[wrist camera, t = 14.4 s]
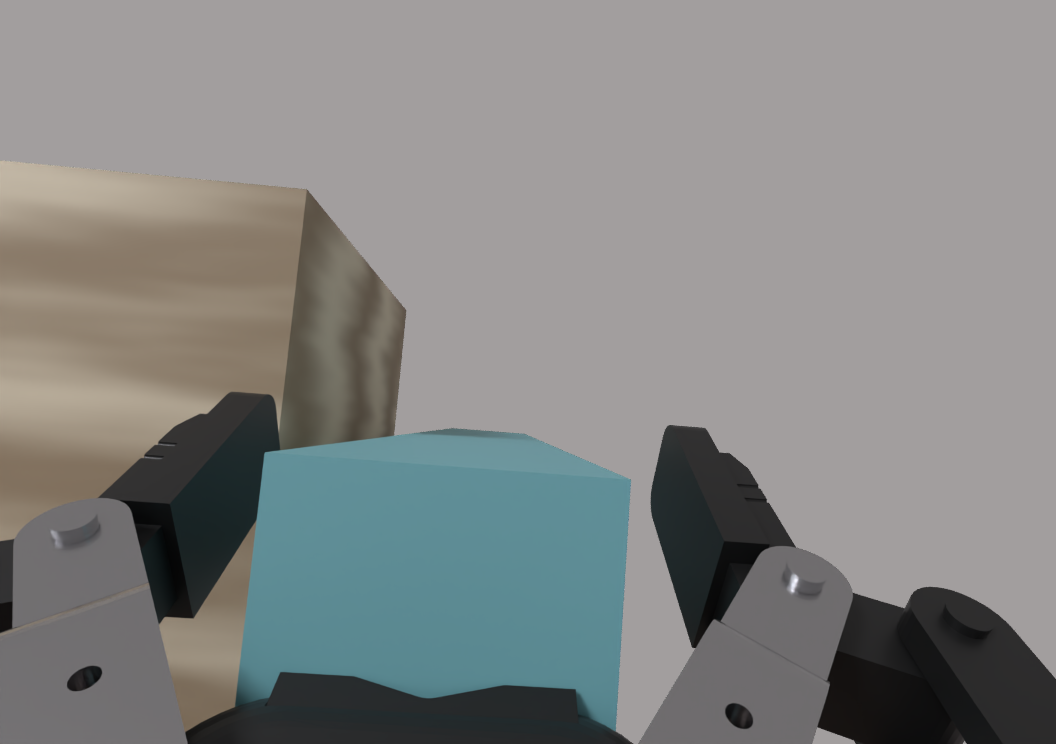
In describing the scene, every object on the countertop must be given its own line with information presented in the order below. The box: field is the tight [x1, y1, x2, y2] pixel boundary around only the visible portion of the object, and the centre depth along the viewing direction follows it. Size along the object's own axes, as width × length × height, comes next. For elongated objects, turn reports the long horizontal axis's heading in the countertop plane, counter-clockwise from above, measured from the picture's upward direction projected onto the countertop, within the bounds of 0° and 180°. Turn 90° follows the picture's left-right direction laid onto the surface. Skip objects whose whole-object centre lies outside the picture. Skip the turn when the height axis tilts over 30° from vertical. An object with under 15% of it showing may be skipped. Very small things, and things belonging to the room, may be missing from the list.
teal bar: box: [235, 428, 631, 731], centre depth 19 cm, size 26×4×4 cm, turn 3°
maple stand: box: [0, 161, 406, 732], centre depth 21 cm, size 16×10×32 cm, turn 3°
